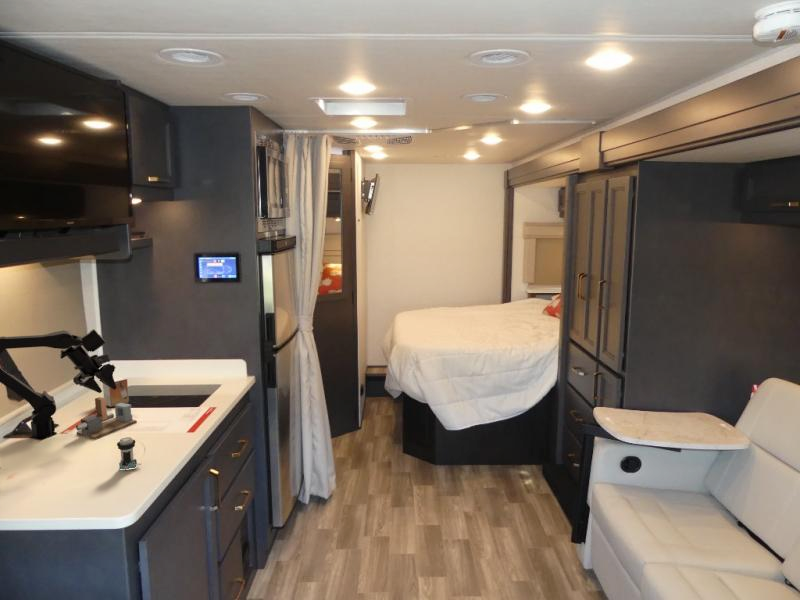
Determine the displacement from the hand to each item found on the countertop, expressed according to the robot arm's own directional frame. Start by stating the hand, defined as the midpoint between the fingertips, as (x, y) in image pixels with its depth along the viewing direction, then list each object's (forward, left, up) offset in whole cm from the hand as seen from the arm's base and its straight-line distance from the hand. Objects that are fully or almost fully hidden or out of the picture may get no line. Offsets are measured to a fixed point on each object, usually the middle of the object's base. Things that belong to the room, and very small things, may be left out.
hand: (108, 390), depth 224 cm
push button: (-24, -39, -13) cm, 48 cm away
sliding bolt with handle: (-9, -3, -10) cm, 14 cm away
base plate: (-4, -3, -13) cm, 14 cm away
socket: (+4, -3, -12) cm, 13 cm away
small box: (+17, +18, -14) cm, 28 cm away
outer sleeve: (-10, -3, -12) cm, 16 cm away
